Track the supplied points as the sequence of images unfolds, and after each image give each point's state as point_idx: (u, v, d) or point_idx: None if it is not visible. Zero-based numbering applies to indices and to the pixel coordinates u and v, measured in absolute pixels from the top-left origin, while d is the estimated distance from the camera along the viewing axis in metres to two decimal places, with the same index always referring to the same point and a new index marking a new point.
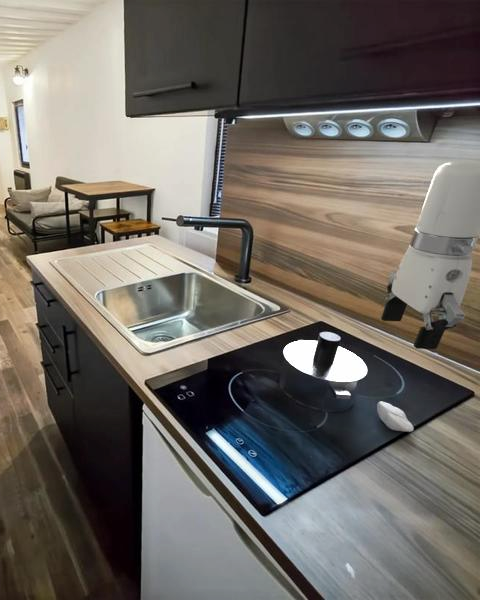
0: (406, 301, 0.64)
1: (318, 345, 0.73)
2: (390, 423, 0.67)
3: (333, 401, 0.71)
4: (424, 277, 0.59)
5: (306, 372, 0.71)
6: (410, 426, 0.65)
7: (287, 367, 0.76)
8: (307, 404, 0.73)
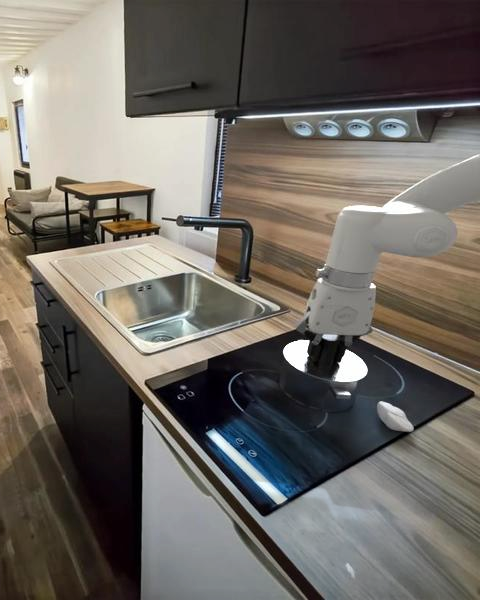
0: None
1: None
2: (390, 423, 0.67)
3: (333, 401, 0.71)
4: None
5: (306, 372, 0.71)
6: (410, 426, 0.65)
7: (287, 367, 0.76)
8: (307, 404, 0.73)
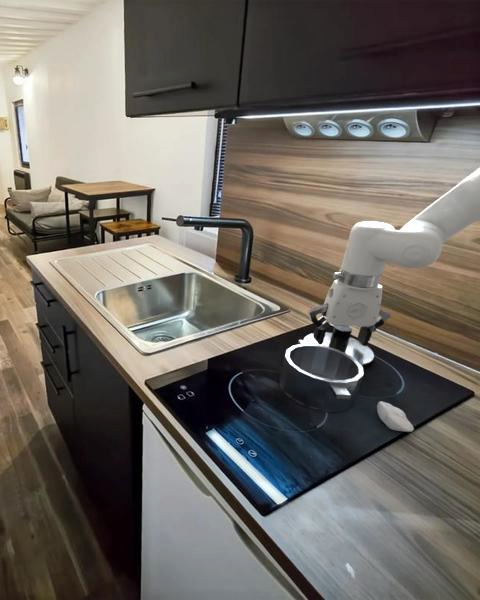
0: None
1: (333, 335, 0.89)
2: (390, 423, 0.67)
3: (333, 401, 0.71)
4: None
5: None
6: (410, 426, 0.65)
7: (287, 367, 0.76)
8: (307, 404, 0.73)
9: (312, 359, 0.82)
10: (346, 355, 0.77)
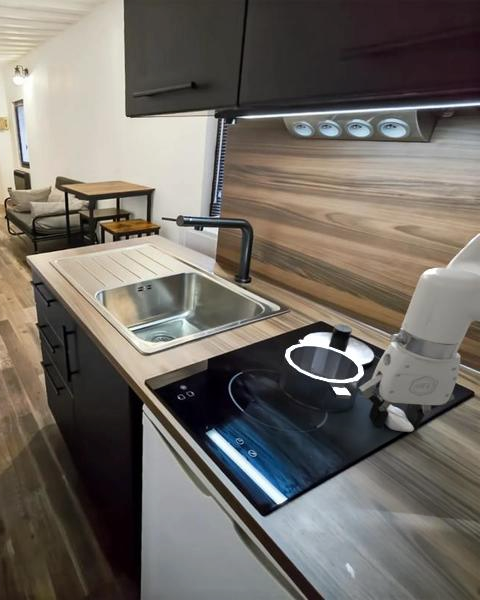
0: None
1: (333, 335, 0.89)
2: (390, 423, 0.67)
3: (333, 401, 0.71)
4: None
5: None
6: (410, 426, 0.65)
7: (287, 367, 0.76)
8: (307, 404, 0.73)
9: (312, 359, 0.82)
10: (346, 355, 0.77)
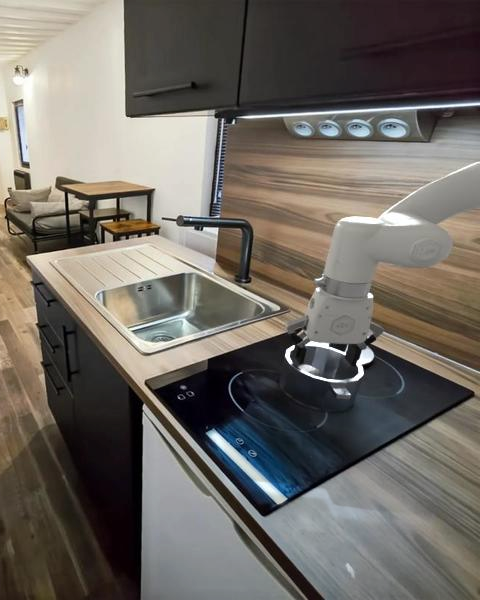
0: None
1: None
2: None
3: (333, 401, 0.71)
4: None
5: None
6: (309, 368, 0.76)
7: (287, 367, 0.76)
8: (307, 404, 0.73)
9: (312, 359, 0.82)
10: None
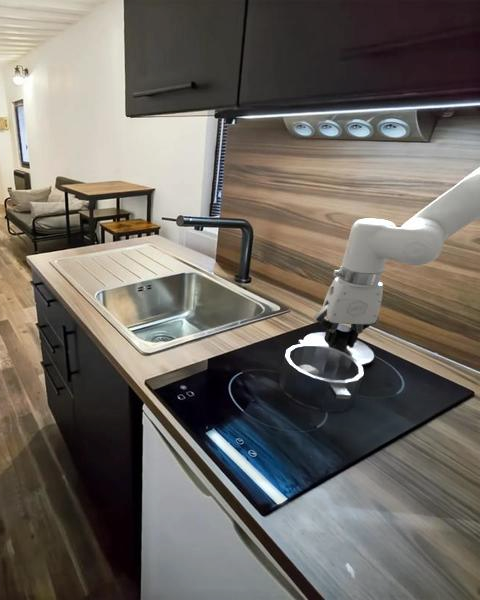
0: None
1: None
2: None
3: (333, 401, 0.71)
4: None
5: None
6: (309, 368, 0.76)
7: (287, 367, 0.76)
8: (307, 404, 0.73)
9: (312, 359, 0.82)
10: (346, 355, 0.77)
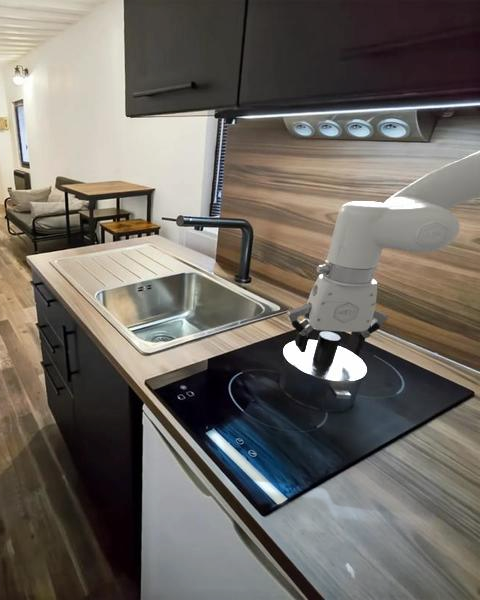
0: None
1: (318, 344, 0.73)
2: None
3: (333, 401, 0.71)
4: None
5: (306, 371, 0.71)
6: None
7: (287, 367, 0.76)
8: (307, 404, 0.73)
9: None
10: None
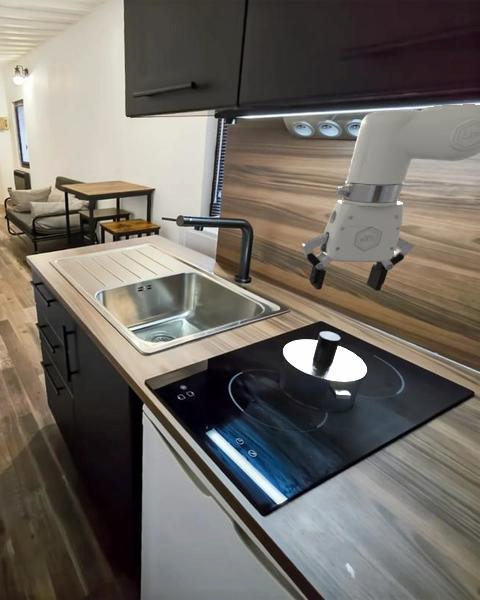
0: None
1: (318, 344, 0.73)
2: None
3: (333, 401, 0.71)
4: None
5: (306, 371, 0.71)
6: None
7: (287, 367, 0.76)
8: (307, 404, 0.73)
9: None
10: None
